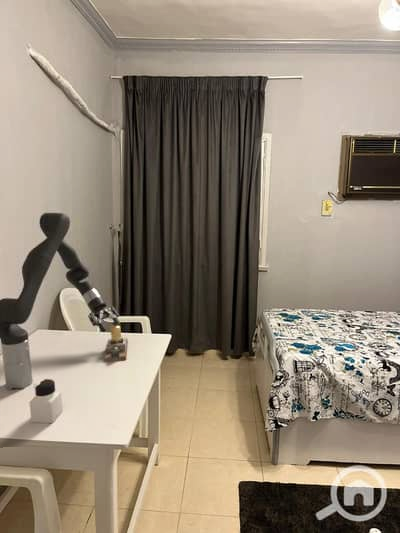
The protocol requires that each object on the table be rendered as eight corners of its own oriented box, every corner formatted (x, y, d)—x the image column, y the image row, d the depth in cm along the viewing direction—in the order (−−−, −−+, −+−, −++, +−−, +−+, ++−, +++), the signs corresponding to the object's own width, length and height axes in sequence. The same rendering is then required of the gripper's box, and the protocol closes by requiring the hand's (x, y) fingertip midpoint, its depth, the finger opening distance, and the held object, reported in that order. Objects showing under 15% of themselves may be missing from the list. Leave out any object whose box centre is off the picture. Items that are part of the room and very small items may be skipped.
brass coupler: (121, 349, 174) (120, 328, 173) (111, 349, 174) (110, 328, 172) (121, 345, 179) (120, 324, 177) (112, 346, 178) (110, 325, 176)
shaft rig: (126, 360, 166) (125, 348, 165) (104, 362, 164) (104, 349, 163) (127, 340, 189) (127, 330, 188) (109, 342, 187) (108, 331, 186)
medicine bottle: (63, 411, 126) (60, 377, 124) (52, 423, 119) (49, 387, 117) (42, 410, 127) (39, 376, 125) (31, 422, 120) (27, 387, 118)
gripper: (85, 299, 173) (103, 328, 168) (109, 293, 185) (127, 320, 180) (78, 309, 177) (96, 337, 172) (103, 302, 189) (120, 328, 184)
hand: (112, 328), depth 176 cm, fingers open, 8 cm apart
